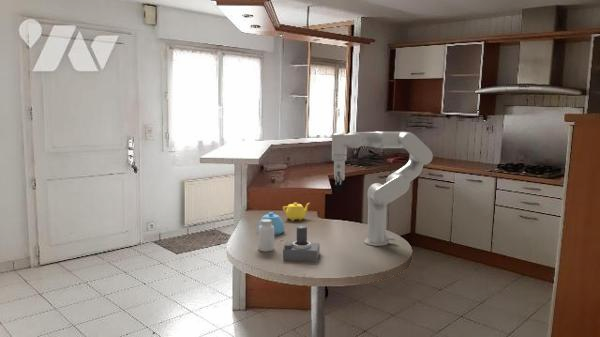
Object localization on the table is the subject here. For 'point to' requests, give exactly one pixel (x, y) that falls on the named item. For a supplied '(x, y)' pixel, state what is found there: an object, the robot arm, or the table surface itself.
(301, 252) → the camera body
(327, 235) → the table surface
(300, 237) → the lens
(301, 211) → the teapot
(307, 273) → the table surface
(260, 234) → the pill bottle
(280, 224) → the sugar bowl
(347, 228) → the table surface
